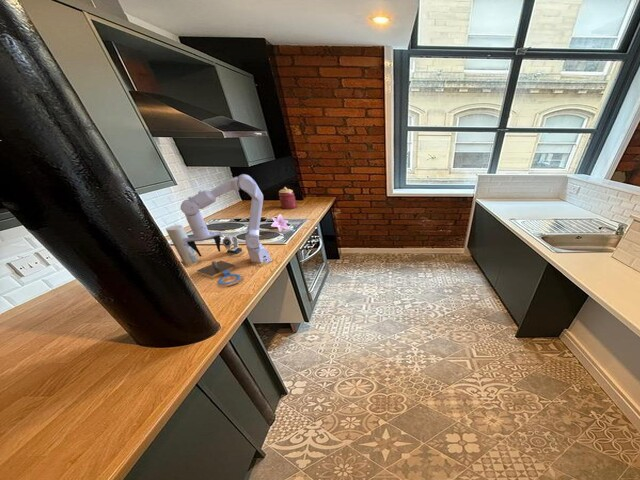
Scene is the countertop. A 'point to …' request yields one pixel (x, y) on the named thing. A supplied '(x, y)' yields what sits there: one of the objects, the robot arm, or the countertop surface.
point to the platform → (213, 271)
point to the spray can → (182, 244)
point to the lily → (280, 223)
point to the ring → (227, 274)
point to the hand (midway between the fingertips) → (210, 253)
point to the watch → (228, 243)
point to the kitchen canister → (287, 198)
